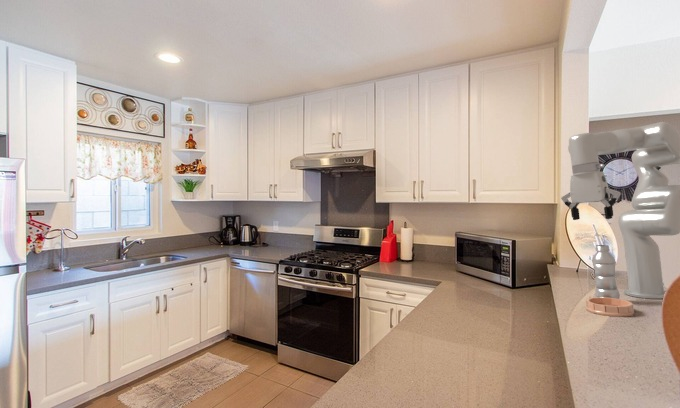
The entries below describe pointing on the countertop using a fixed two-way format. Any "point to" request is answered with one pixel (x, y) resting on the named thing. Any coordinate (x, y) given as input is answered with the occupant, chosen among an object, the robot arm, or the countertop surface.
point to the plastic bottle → (605, 273)
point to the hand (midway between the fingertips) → (592, 219)
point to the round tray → (609, 307)
